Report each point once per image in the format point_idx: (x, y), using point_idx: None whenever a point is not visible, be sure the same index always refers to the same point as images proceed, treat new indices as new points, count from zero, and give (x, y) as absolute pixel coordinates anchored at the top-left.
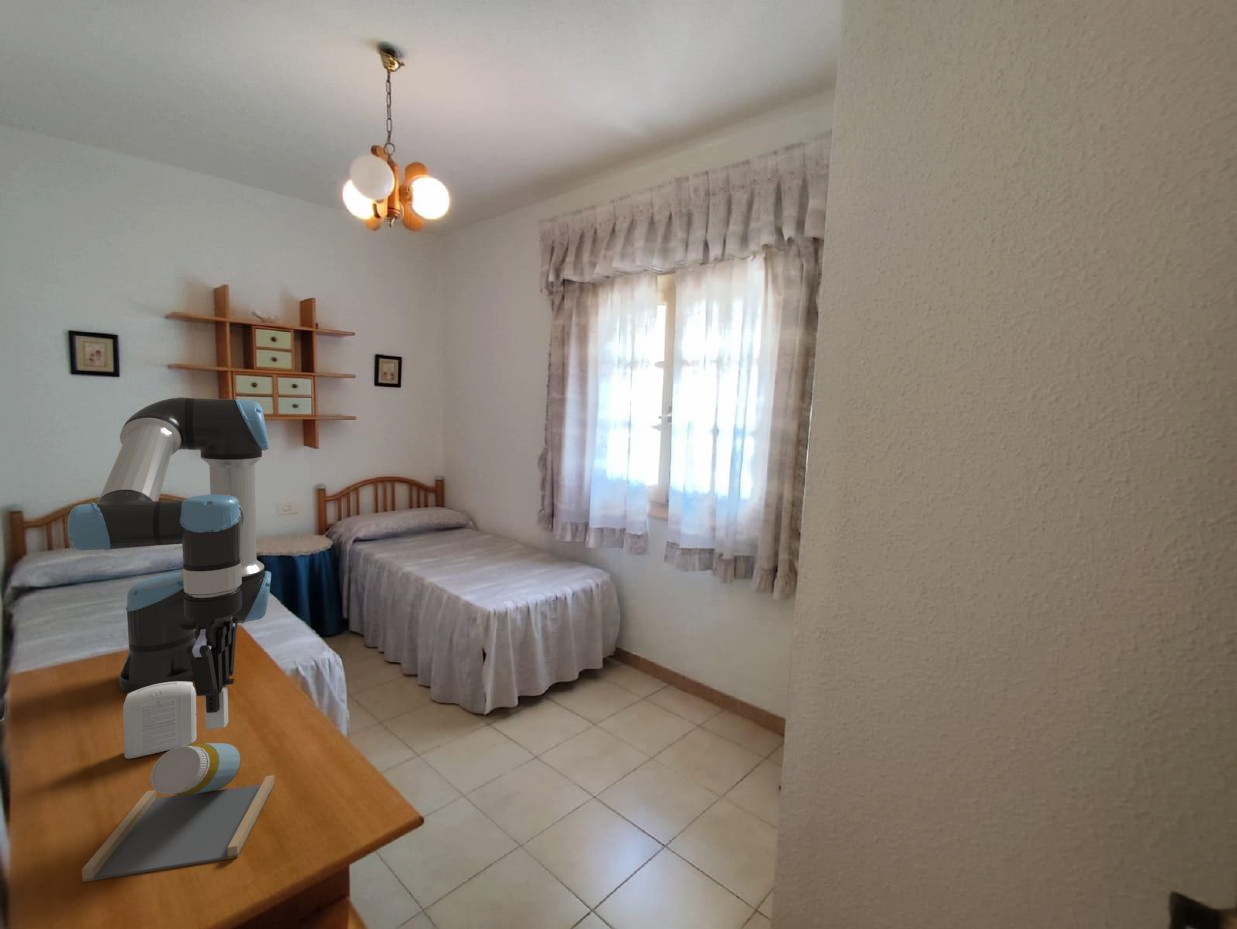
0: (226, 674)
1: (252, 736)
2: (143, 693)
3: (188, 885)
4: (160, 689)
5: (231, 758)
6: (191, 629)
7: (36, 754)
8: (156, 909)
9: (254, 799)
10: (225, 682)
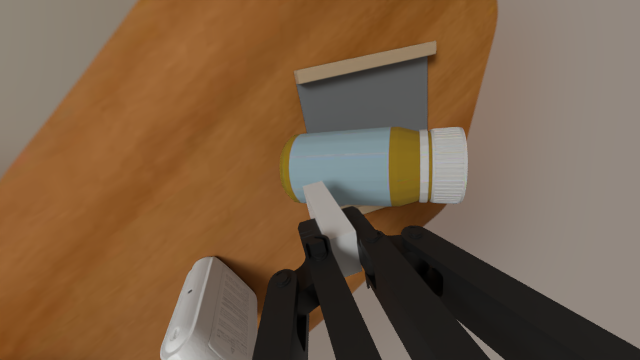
0: (337, 274)
1: (171, 188)
2: None
3: (450, 79)
4: None
5: (331, 137)
6: None
7: None
8: (470, 92)
9: (351, 70)
10: (332, 253)
